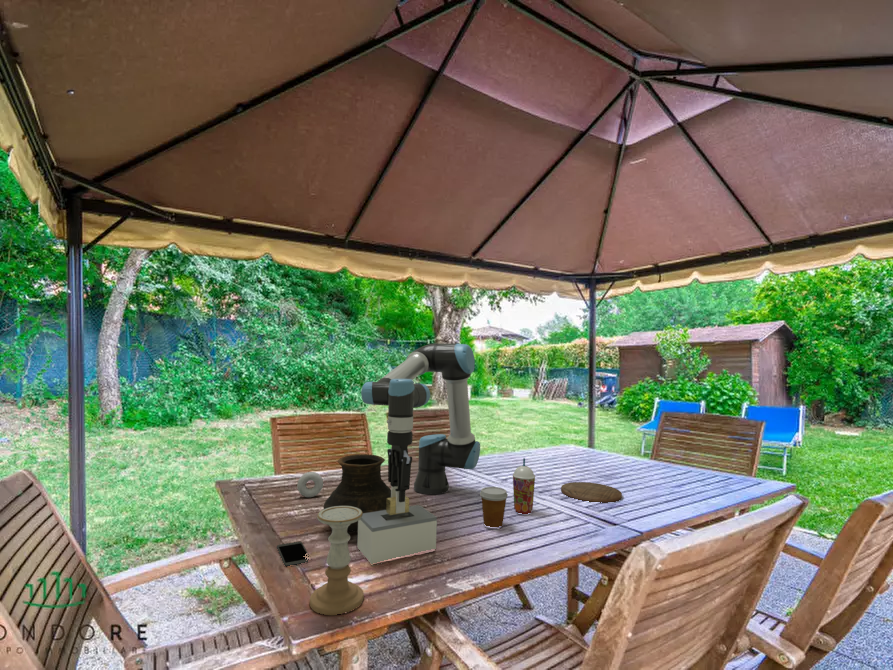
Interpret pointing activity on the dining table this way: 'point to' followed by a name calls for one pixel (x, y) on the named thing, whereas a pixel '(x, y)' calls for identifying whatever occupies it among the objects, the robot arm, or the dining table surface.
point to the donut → (305, 478)
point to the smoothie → (523, 489)
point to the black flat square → (292, 553)
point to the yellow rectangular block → (392, 505)
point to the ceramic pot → (360, 485)
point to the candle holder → (338, 565)
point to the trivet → (591, 492)
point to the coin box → (396, 533)
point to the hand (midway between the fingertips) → (397, 510)
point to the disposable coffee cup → (493, 505)
